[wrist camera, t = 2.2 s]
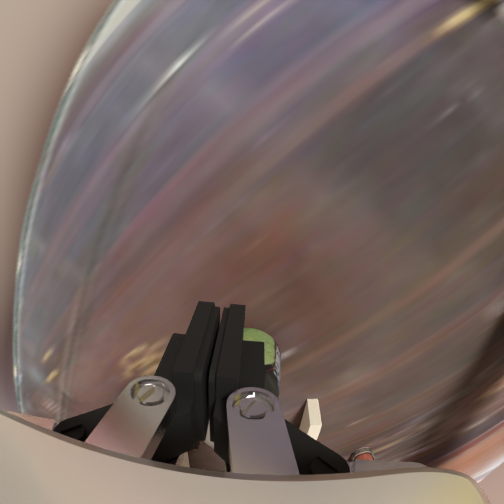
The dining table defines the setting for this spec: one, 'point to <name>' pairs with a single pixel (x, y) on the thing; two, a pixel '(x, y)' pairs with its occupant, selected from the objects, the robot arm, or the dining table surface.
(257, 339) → the beverage can
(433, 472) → the robot arm
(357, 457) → the lighter
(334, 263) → the dining table surface
